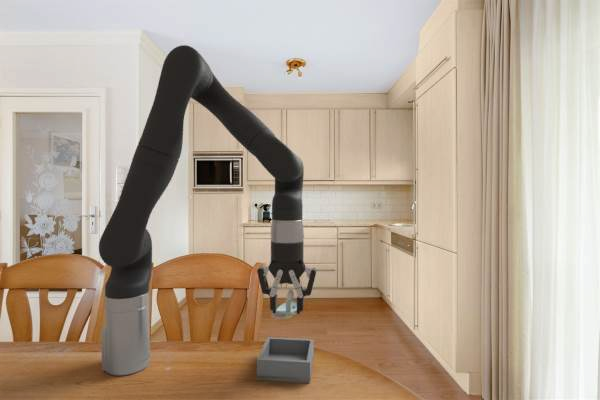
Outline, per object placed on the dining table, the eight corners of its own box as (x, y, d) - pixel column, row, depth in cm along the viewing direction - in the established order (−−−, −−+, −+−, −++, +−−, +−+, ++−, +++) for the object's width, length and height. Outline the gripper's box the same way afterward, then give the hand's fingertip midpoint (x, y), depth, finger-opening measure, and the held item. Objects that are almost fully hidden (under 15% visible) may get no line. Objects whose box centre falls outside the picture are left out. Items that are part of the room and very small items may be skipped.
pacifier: (267, 321, 79) (293, 322, 78) (266, 293, 79) (293, 294, 78) (276, 310, 87) (300, 311, 85) (275, 284, 86) (299, 285, 85)
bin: (256, 379, 78) (256, 359, 77) (267, 354, 89) (267, 337, 89) (309, 383, 76) (310, 362, 76) (313, 357, 88) (313, 339, 88)
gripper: (252, 240, 79) (252, 316, 79) (317, 242, 77) (317, 319, 78) (260, 236, 86) (260, 305, 87) (319, 237, 85) (318, 308, 85)
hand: (287, 311), depth 82 cm, fingers closed on pacifier, 5 cm apart
